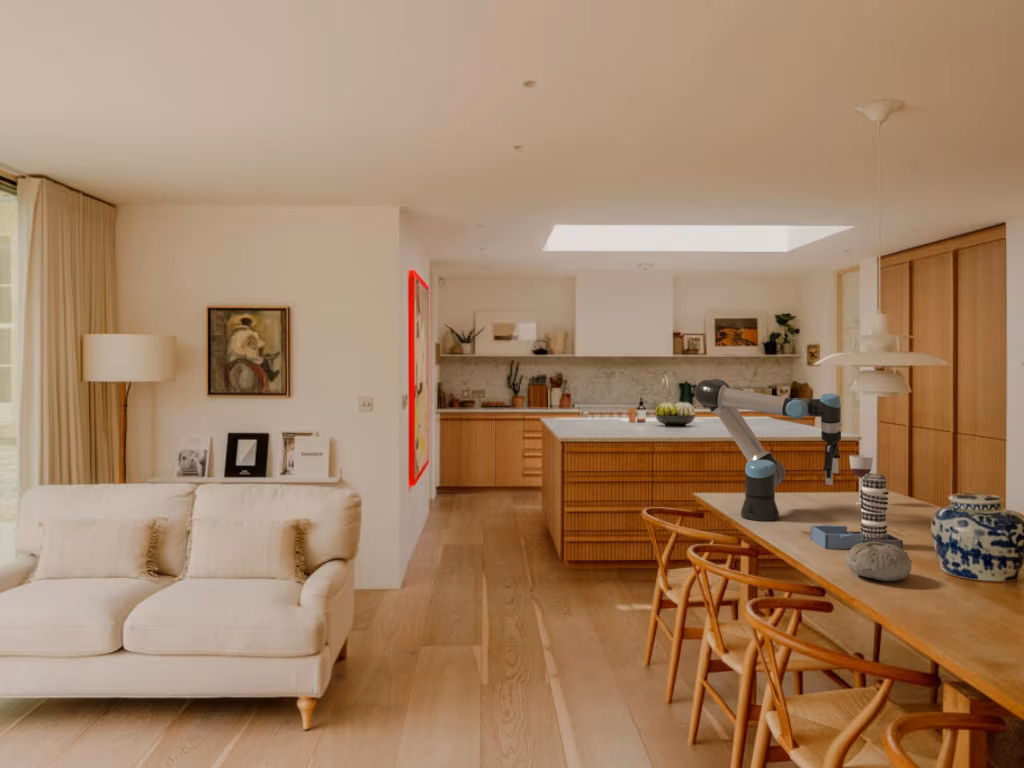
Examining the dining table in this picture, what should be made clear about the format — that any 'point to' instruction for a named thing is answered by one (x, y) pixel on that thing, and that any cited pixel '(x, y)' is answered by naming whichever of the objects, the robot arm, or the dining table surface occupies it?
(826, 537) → the blue tray
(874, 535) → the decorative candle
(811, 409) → the robot arm
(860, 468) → the wineglass
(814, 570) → the dining table surface
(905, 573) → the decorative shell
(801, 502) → the dining table surface
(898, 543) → the charcoal holder
